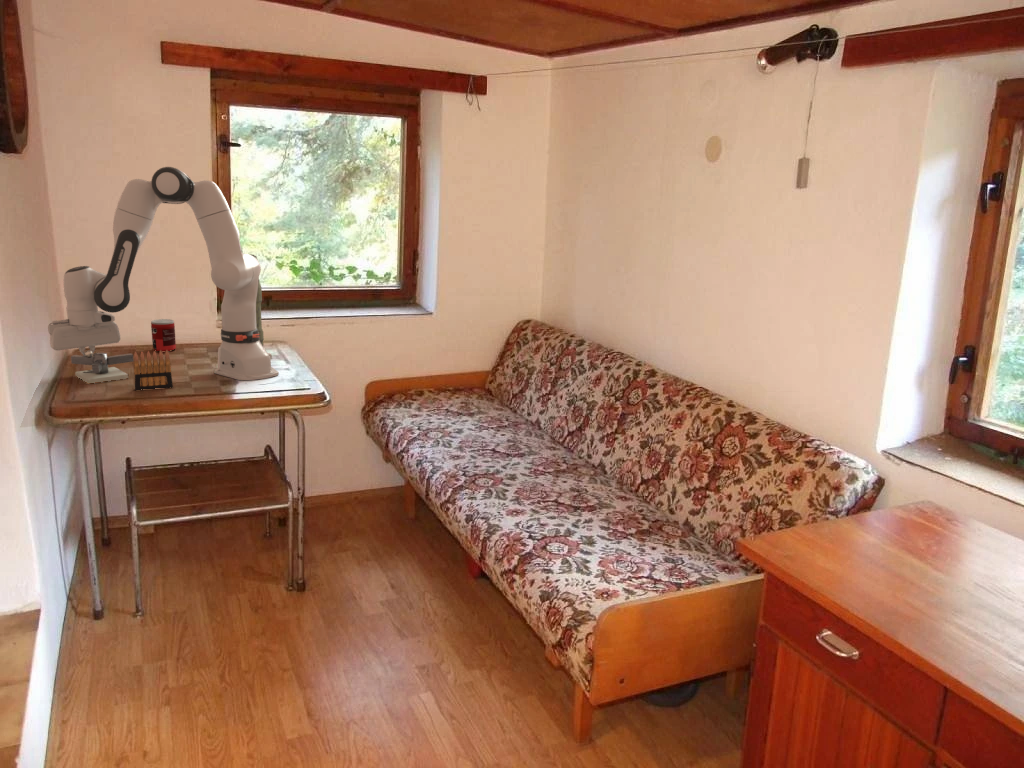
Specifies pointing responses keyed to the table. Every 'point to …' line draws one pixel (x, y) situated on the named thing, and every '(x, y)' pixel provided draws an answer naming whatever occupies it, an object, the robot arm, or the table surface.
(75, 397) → the table surface
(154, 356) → the ammunition clip
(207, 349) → the table surface
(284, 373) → the table surface
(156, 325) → the canned food
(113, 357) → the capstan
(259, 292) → the thermos
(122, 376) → the stand plate
